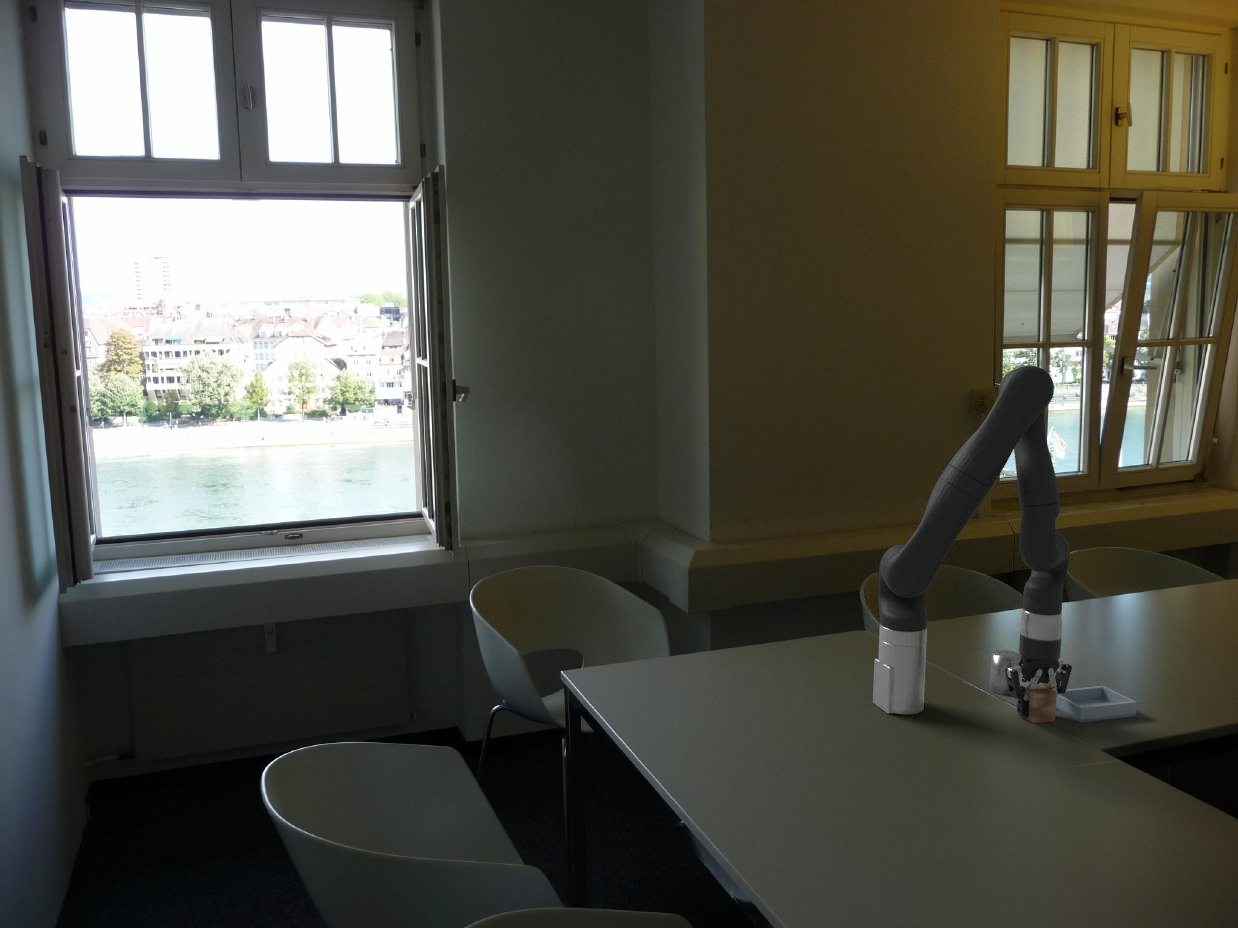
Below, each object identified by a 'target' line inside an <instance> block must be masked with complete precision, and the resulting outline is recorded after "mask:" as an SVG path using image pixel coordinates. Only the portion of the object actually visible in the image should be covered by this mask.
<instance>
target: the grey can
mask: <svg viewBox="0 0 1238 928" xmlns="http://www.w3.org/2000/svg"><path fill="white" fill-rule="evenodd" d="M990 656H991V658H990V672H989V673H990V676H989V691H991V692H992V693H994V694H996V695H999V696H1005V697H1014V696H1013V695H1011V694H1009V691H1008V685H1007V679H1006V673H1005V668H1006V667H1007V666H1009V667H1011V668H1012V667H1015V666H1018V663H1019V661H1020V658H1021V657H1020V653H1019V652H1016V651H1012V650H1007V649H995V650H993V651H991V655H990ZM1021 674H1022V673H1021V672H1020V676H1021ZM1019 680H1020V678H1019Z"/></svg>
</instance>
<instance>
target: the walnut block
mask: <svg viewBox="0 0 1238 928" xmlns="http://www.w3.org/2000/svg"><path fill="white" fill-rule="evenodd" d="M1025 689H1026V688H1024V692H1025ZM1056 698H1057V692H1056V691H1054V690H1051V689H1049V687H1047V686H1043V684H1042V683H1039V684H1037V685H1036V687H1035V690H1033V691H1032V692H1030V698H1029V717H1028V718H1024V720H1026V721H1028V722H1029V723H1031V724H1041V723H1049V722H1056V711H1057V710H1056ZM1016 699H1017V702H1018V698H1016ZM1017 702H1016V703H1017ZM1016 715H1019V713H1018V712H1017V711H1016ZM1019 716H1020V715H1019ZM1020 717H1021V718H1023V717H1022V716H1020Z"/></svg>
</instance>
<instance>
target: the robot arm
mask: <svg viewBox="0 0 1238 928" xmlns="http://www.w3.org/2000/svg"><path fill="white" fill-rule="evenodd" d="M1054 392H1055V384H1054V380H1053V378H1052V376H1051V375H1050V373H1049V372H1048V371H1046V370H1045V369H1043V368H1042V367H1039V366H1035V365H1025V366H1024V365H1023V366H1020V367H1016V368H1013V369H1012V370H1010V371H1009V372H1007V373H1006V374H1005V375H1004V376H1003V378H1002V380H1001V381H1000V383H999V387H998V396H997V398H996V400H995V402H994V404H993V405H992V407H991V409H990V411H989V413H988V415H987V416H986V418H985V419H984V421H983V422H982V424H981V425H980V426H979V427H978V428H977V430H976V431H975V432H973V434H972V435H971V436H970V437H969V438H968V439H967V440H966V442H964V444H963V445H962V446H961V447H960V448H959V449H958V450H957V452H956V453H955V454H954V456H952V459H951V460H950V461H949V462H948V464H947V465H946V468H945V469H944V470H943V471H942V473H941V475H940V476H939V478H938V479H937V481H936V483H935V485H934V487H933V488H932V491H931V493H930V495H929V499H928V500H927V504H926V507H925V510H924V513H923V516H922V518H921V520H920V523H919V525H918V526H917V528H916V530H915V531H914V533H913V534H912V535H911V536H910V538H909V539H908V540H907V542H906V543H905V544H897V545H894V546H892V547H890V548H889V549H887V550H886V551H885V552H884V553H883V555H882V557H881V560H880V562H879V567H878V568H879V569H878V571H879V572H878V610H879V638H878V639H879V640H878V658H874V662H873V688H872V690H873V692H872V694H873V695H872V704H874V705H875V706H877V707H878V708H879V709H881V710H882V711H884V712H885V713H886V714H898V715H916V714H919V713H922V712H923V711H924V707H925V705H924V704H925V686H926V683H925V681H926V661H927V657H926V656H927V639H928V612H927V606H926V591H927V589H928V588H929V587H930V586H931V584H932V582H933V581H934V579H935V576H936V575H937V572H938V571H939V568H940V567H941V565H942V564H943V563H942V562H943V560H944V559H945V557H946V555H947V553H948V552H949V550H950V548H951V546H952V545H953V543H954V542H955V541H956V539H957V538H958V536H959V535H960V534H961V532H962V531H963V530H964V528H965V527H966V525H968V523H969V521H970V519H971V518H972V517H973V515H974V513H975V512H976V511H977V510H978V508H979V507H980V506H981V505H982V503H983V502H984V500H985V498H986V497H987V495H988V494H989V492H990V491H991V489H992V488H993V486H994V485H995V484H996V482H997V480H998V478H999V476H1000V475H1001V473H1002V472H1003V470H1004V469H1005V466H1006V464H1007V462H1008V460H1009V459H1010V457H1011V456H1012V454H1013V453H1014V460H1015V472H1016V481H1017V482H1016V484H1017V490H1018V492H1017V493H1018V499H1019V505H1020V506H1019V507H1020V512H1021V515H1020V516H1021V517H1020V523H1019V524H1020V525H1019V527H1020V528H1019V529H1020V530H1019V552H1020V557H1021V559H1022V561H1023V562H1024V564H1025V565H1026V566H1027V567H1028V568H1029V569H1030V570H1031V573H1030V577H1029V579H1028V580H1027V581H1026V582H1025V585H1024V587H1023V593H1022V594H1023V595H1022V596H1023V598H1022V600H1023V601H1022V611H1021V616H1020V623H1019V624H1020V627H1019V643H1018V653H1019V654H1020V657H1021V658H1020V661H1019V663H1018V666H1015V667H1012V668H1011V667H1009V666H1007V667H1006V668H1005V673H1006V679H1007V685H1008V691H1009V694H1011V695H1013V696H1012V697H1015V698H1016V699H1018V702H1016V703H1017V705H1016V713H1017V712H1018V713H1019V716H1020V717H1021V716H1022V717H1021V718H1022V719H1025V718H1028V717H1029V698H1030V692H1032V691H1033V690H1035V687H1036V685H1037V684H1039V683H1041V684H1043V686H1047V687H1049V689H1051V690H1054V691H1056V692H1057V696H1058V694H1060V693H1062V694H1064V693H1065V692H1066V690H1067V689H1068V684H1069V681H1070V678H1071V677H1070V676H1071V674H1072V669H1073V665H1071V664H1070V663H1067V662H1065V661H1063V660H1061V661H1059V659H1061V654H1062V653H1061V651H1062V637H1063V618H1062V617H1063V614H1062V611H1063V610H1062V609H1063V590H1064V585H1065V582H1066V579H1067V574H1068V570H1069V565H1070V559H1071V549H1070V543H1069V541H1068V540H1067V538H1066V537H1065V536H1064V535H1063V534H1062V533H1060V532H1058V531H1056V521H1057V519H1058V518H1059V516H1060V513H1061V511H1060V510H1061V505H1060V497H1059V490H1058V482H1057V481H1058V480H1057V476H1056V471H1055V467H1054V463H1053V461H1052V460H1053V459H1052V456H1051V453H1050V450H1049V445H1048V440H1047V433H1046V422H1045V419H1046V417H1045V415H1046V408H1047V407H1048V406H1049V404H1050V403H1051V401H1052V399H1053V396H1054V394H1055V393H1054ZM1020 672H1021V676H1020ZM1019 678H1020V680H1019ZM1028 682H1029V683H1028ZM1024 688H1026V689H1025V692H1024Z"/></svg>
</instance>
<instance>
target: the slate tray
mask: <svg viewBox="0 0 1238 928" xmlns="http://www.w3.org/2000/svg"><path fill="white" fill-rule="evenodd" d="M1137 706H1138V701H1135V700H1134V699H1131V698H1129V697H1128V696H1126V695H1124V694H1121V693H1119V692H1117V691H1115V690H1113V689H1111V688H1109V687H1107V686H1105V685H1097V686H1096V685H1095V686H1088V687H1078V688H1067V689H1066V692H1065V693H1064V694H1062V693H1060V694H1058V696H1057V698H1056V711H1058V712H1059V713H1061V714H1063V715H1065V716H1067V717H1069V718H1071V719H1073V720H1074V721H1076V722H1077V723H1079V724H1082V723H1083V724H1084V723H1092V722H1093V723H1094V722H1100V721H1109V720H1115V719H1117V720H1118V719H1126V718H1134V717H1137Z"/></svg>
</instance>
